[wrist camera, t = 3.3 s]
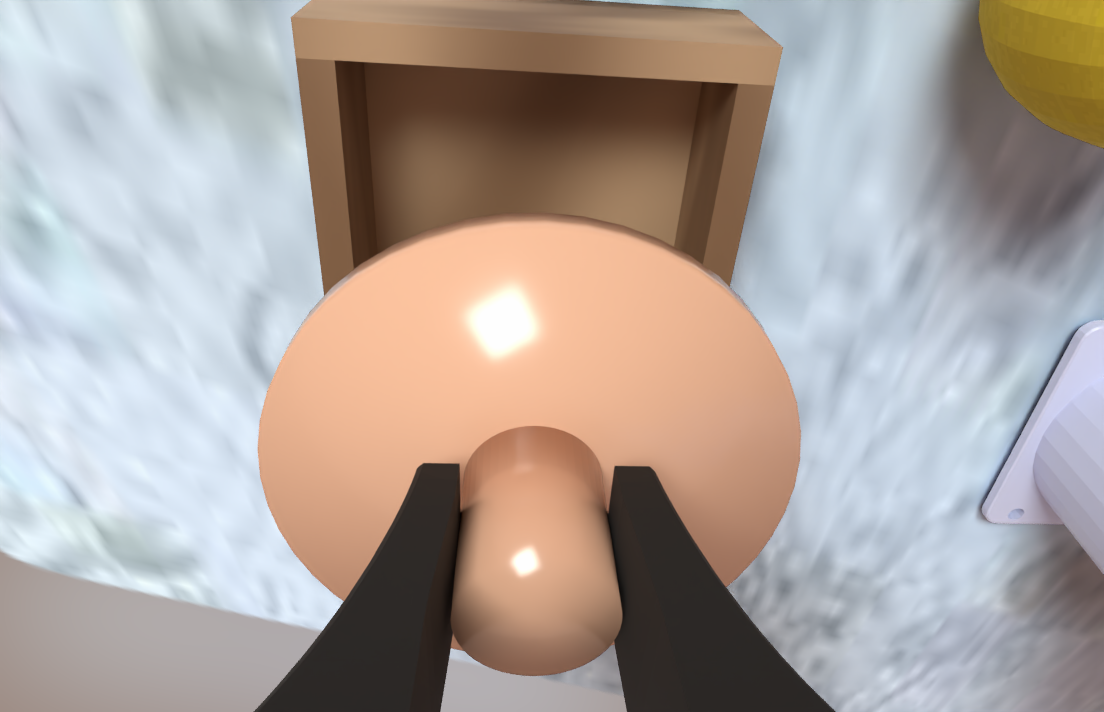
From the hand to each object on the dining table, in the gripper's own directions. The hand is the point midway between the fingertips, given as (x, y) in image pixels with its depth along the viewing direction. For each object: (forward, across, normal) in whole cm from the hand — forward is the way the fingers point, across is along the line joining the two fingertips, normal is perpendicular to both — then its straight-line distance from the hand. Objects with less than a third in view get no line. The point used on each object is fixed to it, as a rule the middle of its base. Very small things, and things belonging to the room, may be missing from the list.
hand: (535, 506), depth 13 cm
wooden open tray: (+9, 0, -2) cm, 9 cm away
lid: (+2, 0, 0) cm, 2 cm away
